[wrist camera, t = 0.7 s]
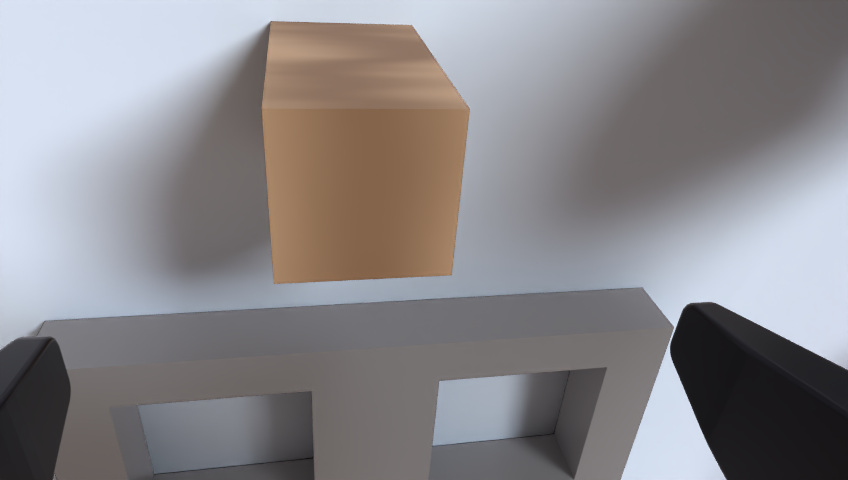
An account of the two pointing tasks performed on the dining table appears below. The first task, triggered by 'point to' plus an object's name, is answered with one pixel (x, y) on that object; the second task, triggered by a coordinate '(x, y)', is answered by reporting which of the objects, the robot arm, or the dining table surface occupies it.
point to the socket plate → (370, 382)
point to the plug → (360, 153)
